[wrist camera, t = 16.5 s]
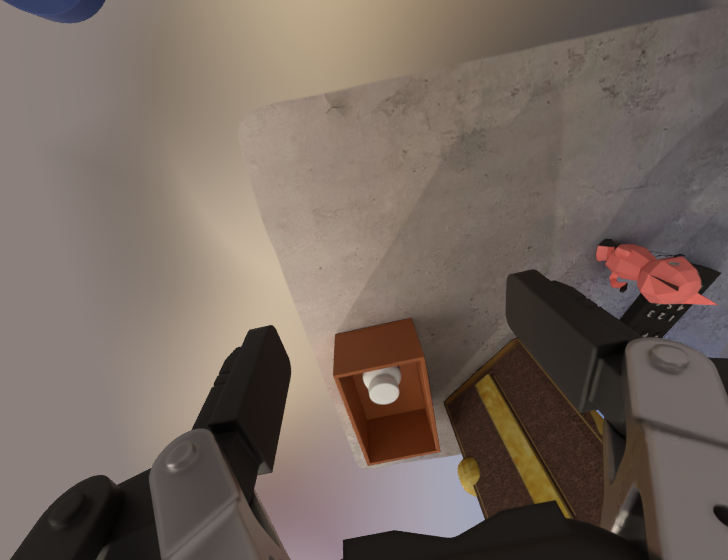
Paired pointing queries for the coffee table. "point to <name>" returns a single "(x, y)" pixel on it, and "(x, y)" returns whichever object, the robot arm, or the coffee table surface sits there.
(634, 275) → the cat figurine
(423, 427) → the orange open bin
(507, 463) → the book
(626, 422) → the robot arm
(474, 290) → the coffee table surface
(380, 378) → the pill bottle
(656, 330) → the remote control
